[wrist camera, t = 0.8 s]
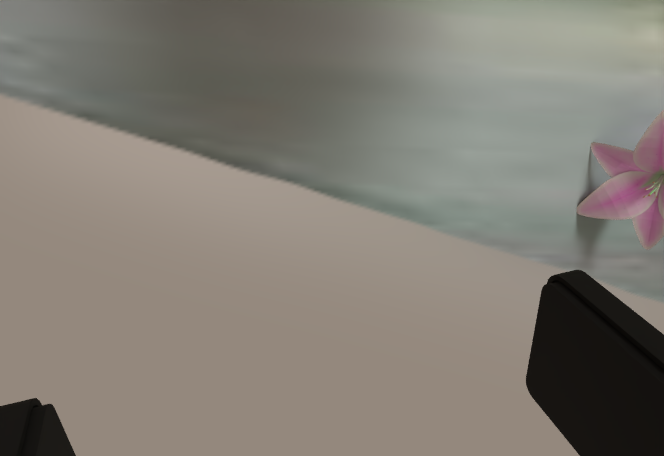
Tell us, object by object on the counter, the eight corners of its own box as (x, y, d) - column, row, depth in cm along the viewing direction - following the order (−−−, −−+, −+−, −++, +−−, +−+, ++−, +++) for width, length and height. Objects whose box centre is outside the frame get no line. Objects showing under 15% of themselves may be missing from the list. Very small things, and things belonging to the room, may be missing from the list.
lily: (627, 68, 45) (658, 120, 38) (750, 122, 46) (803, 184, 39) (545, 176, 53) (557, 237, 46) (652, 221, 54) (680, 288, 46)
